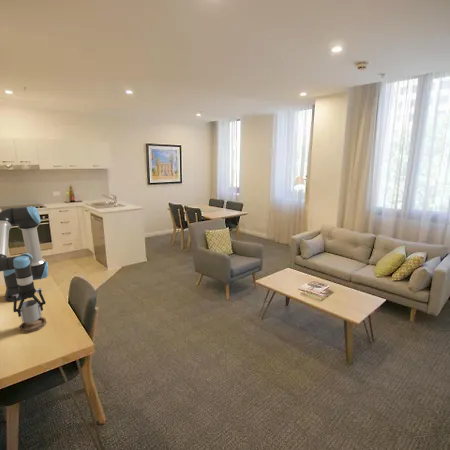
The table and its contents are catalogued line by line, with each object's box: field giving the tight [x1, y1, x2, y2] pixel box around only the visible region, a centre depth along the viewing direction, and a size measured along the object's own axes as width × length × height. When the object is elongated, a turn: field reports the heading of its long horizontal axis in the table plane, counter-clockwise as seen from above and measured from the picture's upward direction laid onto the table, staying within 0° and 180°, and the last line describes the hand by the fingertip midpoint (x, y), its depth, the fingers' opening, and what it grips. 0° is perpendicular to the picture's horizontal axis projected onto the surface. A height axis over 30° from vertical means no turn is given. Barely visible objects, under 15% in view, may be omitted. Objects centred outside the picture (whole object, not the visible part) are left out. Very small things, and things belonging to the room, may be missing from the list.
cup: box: [21, 299, 40, 323], centre depth 169 cm, size 8×8×10 cm
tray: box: [19, 316, 47, 334], centre depth 172 cm, size 13×13×2 cm
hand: (32, 318), depth 170 cm, fingers closed on cup, 8 cm apart
